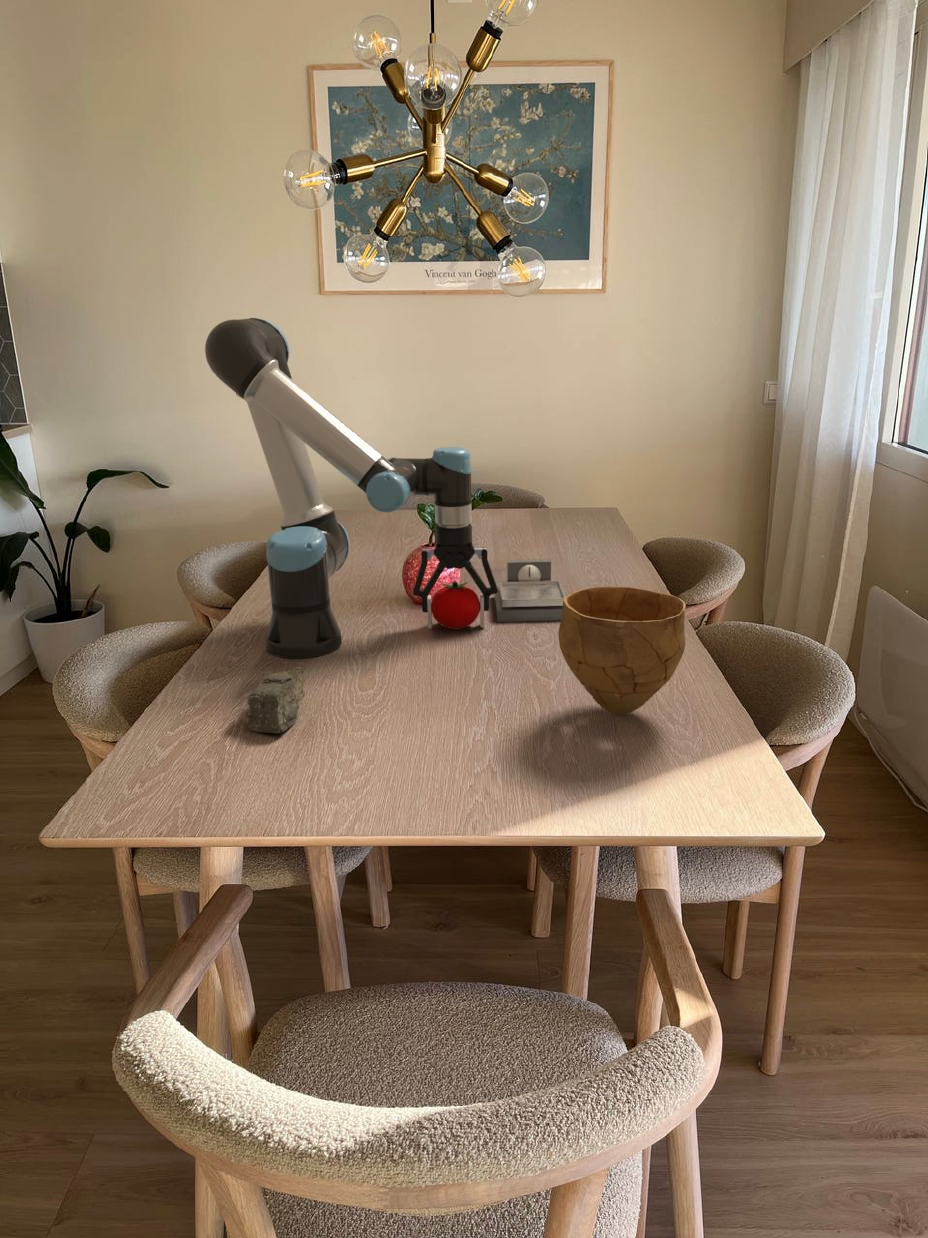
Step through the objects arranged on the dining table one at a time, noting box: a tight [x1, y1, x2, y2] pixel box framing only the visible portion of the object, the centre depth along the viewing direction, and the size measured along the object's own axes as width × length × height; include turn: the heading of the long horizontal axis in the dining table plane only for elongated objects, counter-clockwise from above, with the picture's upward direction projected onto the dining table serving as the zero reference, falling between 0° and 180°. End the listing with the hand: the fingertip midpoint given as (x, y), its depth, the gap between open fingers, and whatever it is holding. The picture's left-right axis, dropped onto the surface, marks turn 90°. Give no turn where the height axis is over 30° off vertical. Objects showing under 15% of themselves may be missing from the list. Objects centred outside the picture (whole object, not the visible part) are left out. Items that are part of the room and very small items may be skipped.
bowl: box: [558, 586, 687, 717], centre depth 153 cm, size 21×20×20 cm
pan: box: [498, 579, 567, 607], centre depth 208 cm, size 14×14×2 cm
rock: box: [245, 666, 305, 734], centre depth 157 cm, size 17×7×10 cm
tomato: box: [431, 579, 480, 630], centre depth 198 cm, size 10×10×10 cm
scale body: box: [493, 558, 567, 623], centre depth 209 cm, size 18×16×9 cm
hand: (456, 625), depth 199 cm, fingers closed on tomato, 10 cm apart
